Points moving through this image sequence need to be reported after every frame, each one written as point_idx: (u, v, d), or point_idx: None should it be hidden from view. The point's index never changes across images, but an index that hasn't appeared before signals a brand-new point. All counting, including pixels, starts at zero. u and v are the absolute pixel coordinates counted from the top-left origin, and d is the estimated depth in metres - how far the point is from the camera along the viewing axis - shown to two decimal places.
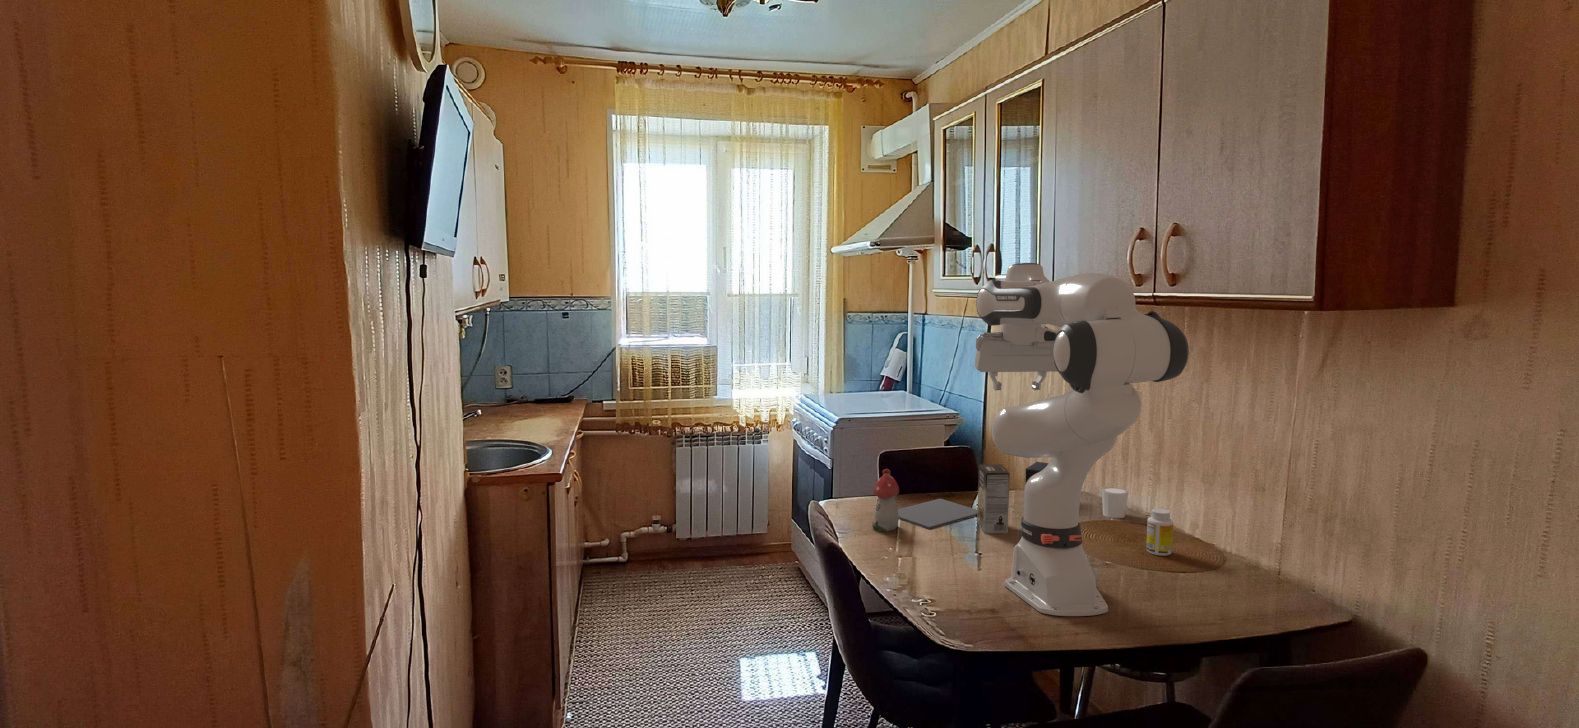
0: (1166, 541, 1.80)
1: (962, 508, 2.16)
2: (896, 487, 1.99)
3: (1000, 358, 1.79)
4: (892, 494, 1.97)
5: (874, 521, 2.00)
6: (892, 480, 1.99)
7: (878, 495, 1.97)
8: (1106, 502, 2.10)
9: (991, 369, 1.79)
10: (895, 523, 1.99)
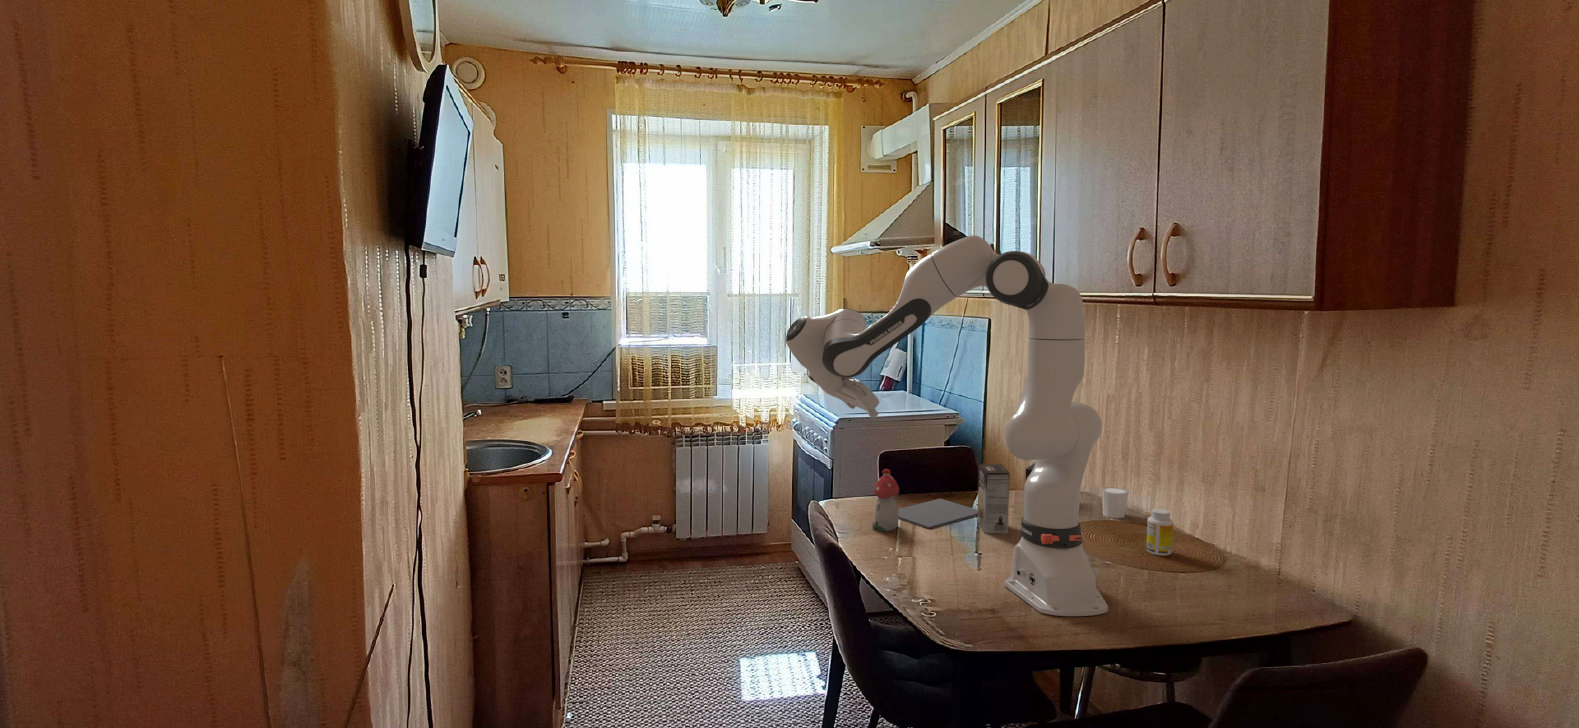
0: (1166, 541, 1.80)
1: (962, 508, 2.16)
2: (896, 487, 1.99)
3: None
4: (892, 494, 1.97)
5: (874, 521, 2.00)
6: (892, 480, 1.99)
7: (878, 495, 1.97)
8: (1106, 502, 2.10)
9: None
10: (895, 523, 1.99)
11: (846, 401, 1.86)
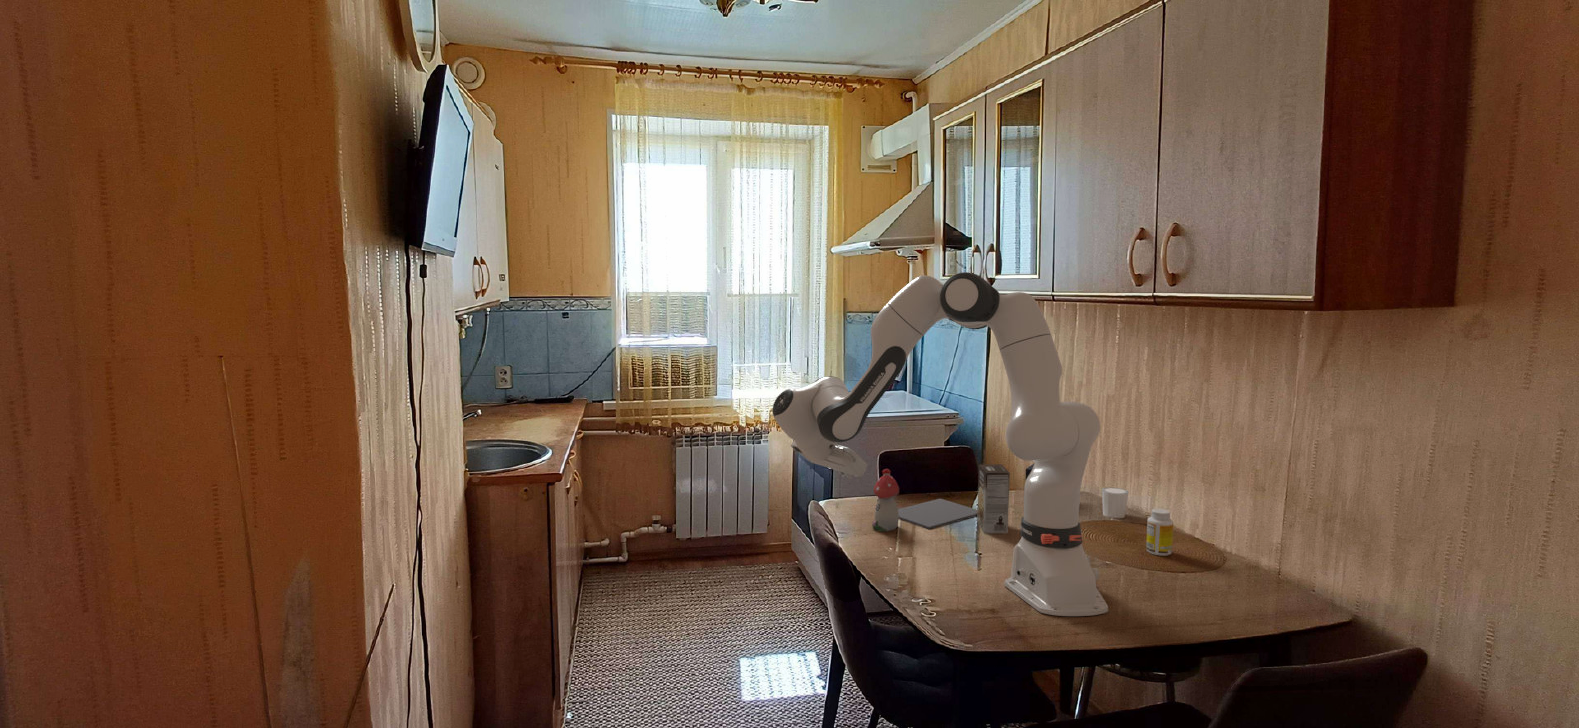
0: (1166, 541, 1.80)
1: (962, 508, 2.16)
2: (896, 487, 1.99)
3: None
4: (892, 494, 1.97)
5: (874, 521, 2.00)
6: (892, 480, 1.99)
7: (878, 495, 1.97)
8: (1106, 502, 2.10)
9: None
10: (895, 523, 1.99)
11: (832, 468, 1.89)
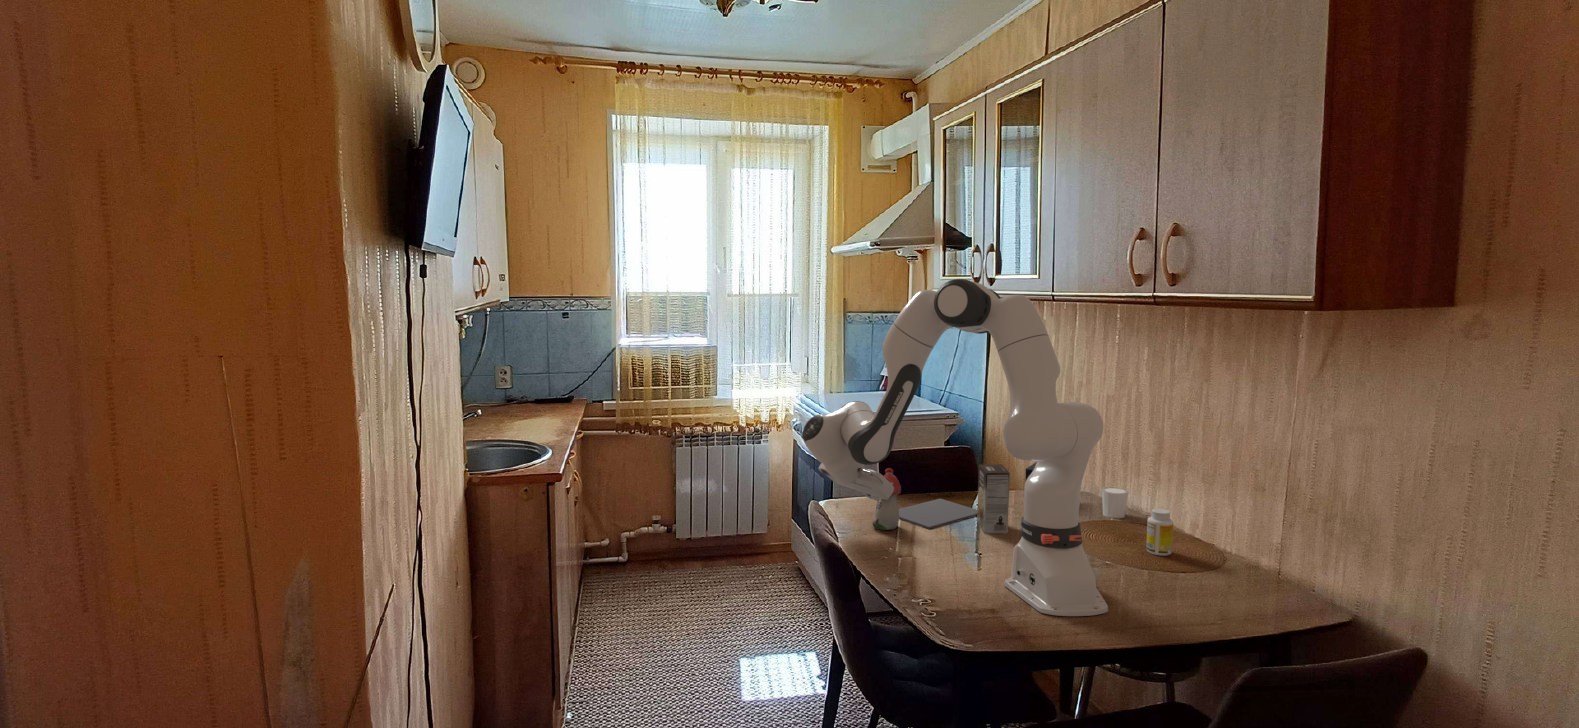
0: (1166, 541, 1.80)
1: (962, 508, 2.16)
2: (898, 486, 1.99)
3: None
4: (894, 492, 1.97)
5: (875, 519, 2.00)
6: (895, 479, 2.00)
7: None
8: (1106, 502, 2.10)
9: None
10: (895, 522, 1.99)
11: (858, 490, 1.95)
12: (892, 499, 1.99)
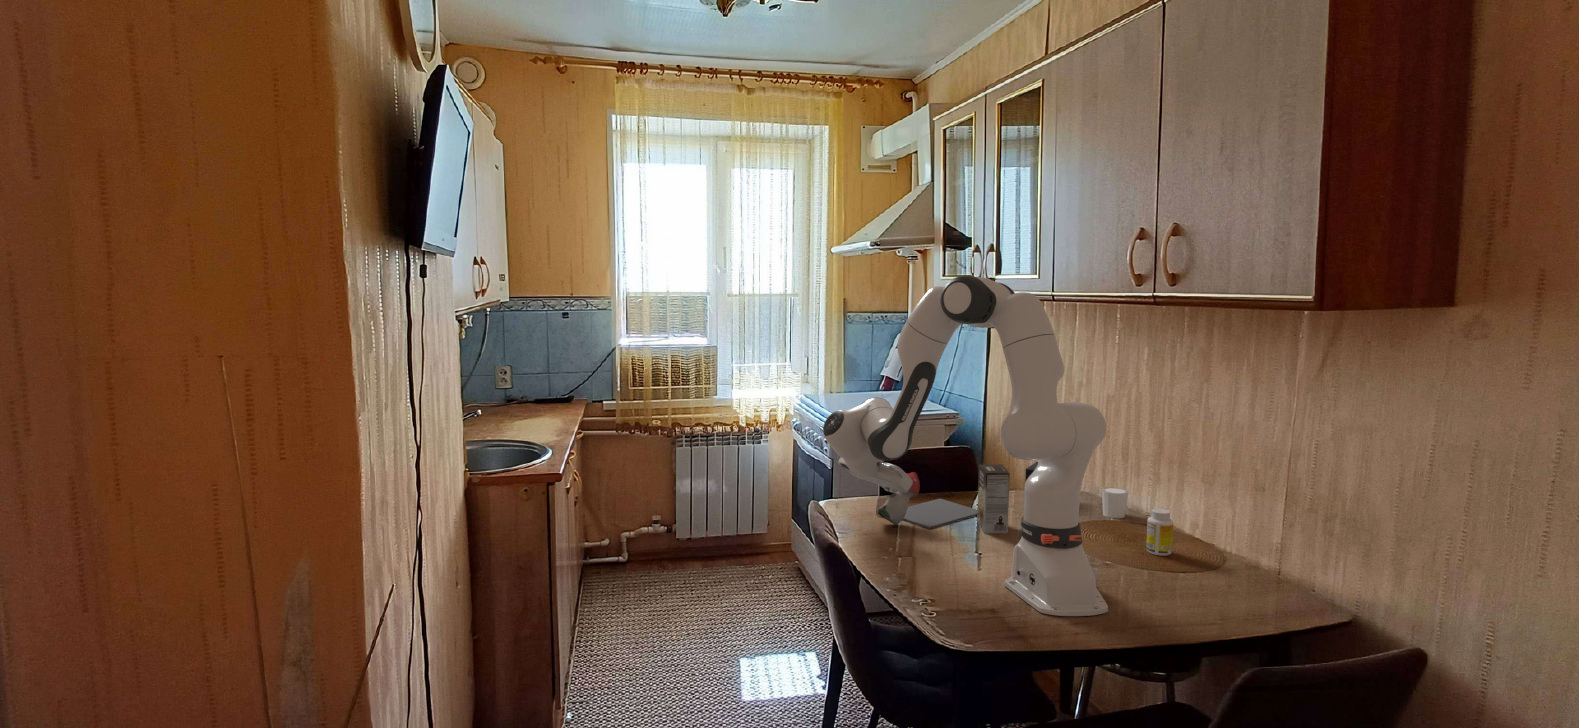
0: (1166, 541, 1.80)
1: (962, 508, 2.16)
2: (918, 487, 2.03)
3: None
4: (913, 489, 2.00)
5: (882, 505, 2.01)
6: (918, 480, 2.03)
7: None
8: (1106, 502, 2.10)
9: None
10: (900, 517, 2.00)
11: (877, 483, 2.00)
12: (907, 496, 2.02)
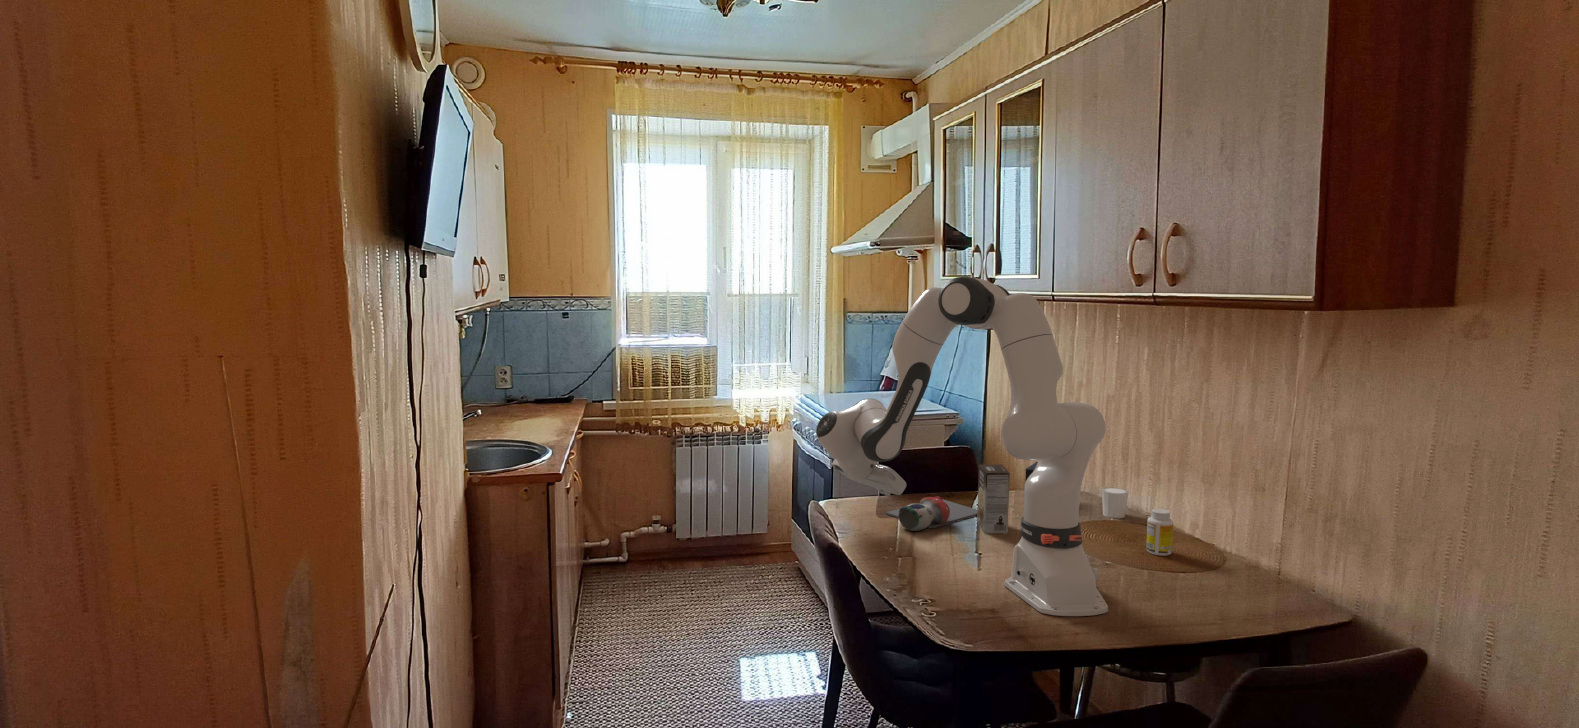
0: (1166, 541, 1.80)
1: (962, 508, 2.16)
2: None
3: None
4: None
5: (919, 512, 1.97)
6: None
7: (945, 512, 2.00)
8: (1106, 502, 2.10)
9: None
10: None
11: (871, 485, 1.98)
12: (932, 520, 2.02)
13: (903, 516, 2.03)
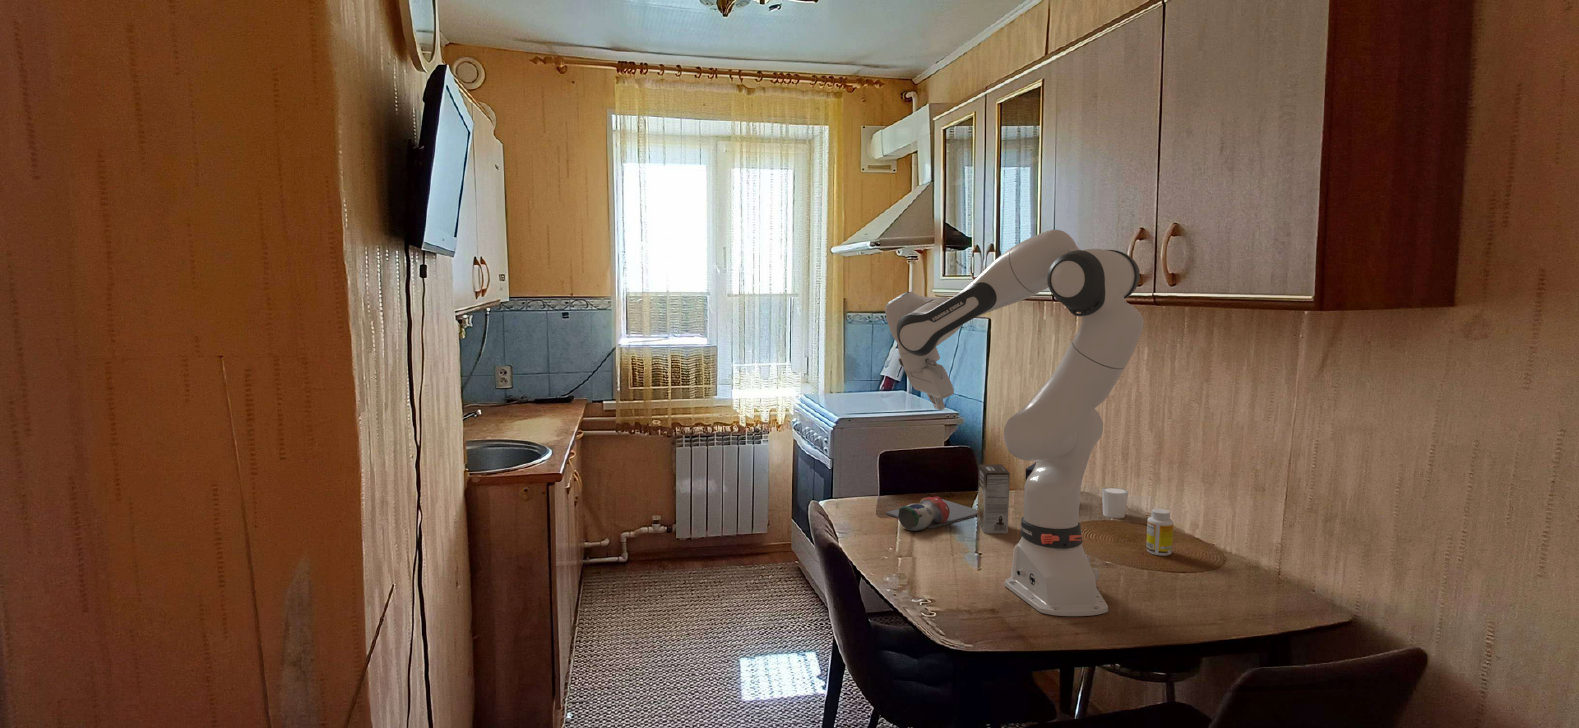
0: (1166, 541, 1.80)
1: (962, 508, 2.16)
2: None
3: None
4: (942, 522, 2.02)
5: (919, 512, 1.97)
6: None
7: (944, 512, 2.00)
8: (1106, 502, 2.10)
9: None
10: None
11: (925, 390, 1.89)
12: (932, 519, 2.02)
13: (903, 516, 2.03)
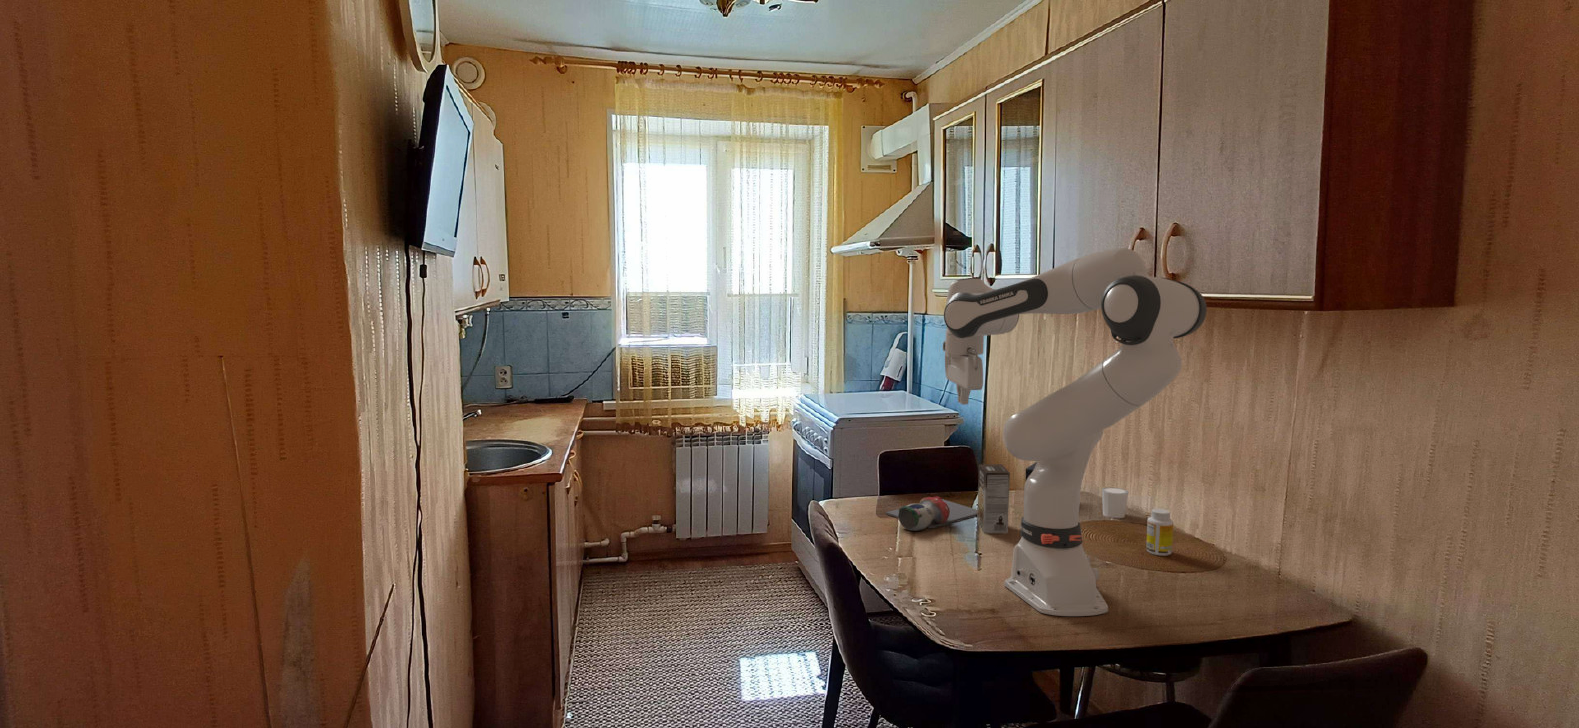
0: (1166, 541, 1.80)
1: (962, 508, 2.16)
2: None
3: None
4: (942, 522, 2.02)
5: (919, 512, 1.97)
6: None
7: (944, 512, 2.00)
8: (1106, 502, 2.10)
9: None
10: None
11: (955, 380, 1.84)
12: (932, 519, 2.02)
13: (903, 516, 2.03)
